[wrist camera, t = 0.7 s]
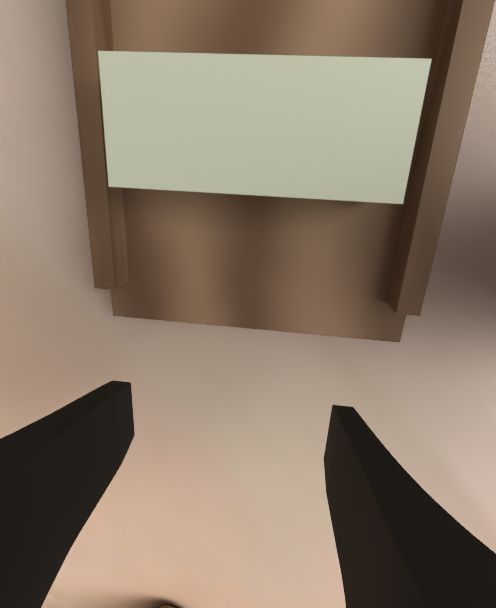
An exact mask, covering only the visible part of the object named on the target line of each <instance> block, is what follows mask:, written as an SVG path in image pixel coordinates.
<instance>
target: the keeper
mask: <svg viewBox="0 0 496 608" xmlns="http://www.w3.org/2000/svg"><path fill="white" fill-rule="evenodd" d="M98 57H99V70H100V83H101V95H102V108H103V121H104V134H105V146H106V159H107V172H108V184H109V187H122V188H139V189H156V190H173V191H190V192H207V193H224V194H240V195H257V196H274V197H291V198H308V199H325V200H342V201H359V202H375V203H392V204H403V201H404V196H405V191H406V186H407V181H408V176H409V171H410V166H411V161H412V156H413V151H414V146H415V141H416V136H417V131H418V126H419V121H420V116H421V110H422V105H423V100H424V95H425V90H426V85H427V80H428V75H429V70H430V65H431V60H432V59H422V58H380V57H338V56H296V55H254V54H212V53H170V52H128V51H98Z"/></svg>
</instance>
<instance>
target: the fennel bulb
mask: <svg viewBox="0 0 496 608" xmlns="http://www.w3.org/2000/svg"><path fill="white" fill-rule="evenodd" d="M159 608H175V607H172V606H168V605H165V606H160V607H159Z"/></svg>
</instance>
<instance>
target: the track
mask: <svg viewBox="0 0 496 608" xmlns="http://www.w3.org/2000/svg"><path fill="white" fill-rule="evenodd" d="M494 2H495V0H66V7H67V17H68V27H69V37H70V47H71V57H72V67H73V77H74V87H75V96H76V106H77V116H78V126H79V136H80V146H81V156H82V166H83V176H84V186H85V195H86V205H87V215H88V225H89V235H90V245H91V255H92V265H93V275H94V285H95V288H102V289H111V294H112V306H113V316H123V317H134V318H145V319H155V320H166V321H177V322H188V323H198V324H209V325H220V326H231V327H242V328H252V329H263V330H274V331H285V332H295V333H306V334H317V335H328V336H339V337H349V338H360V339H371V340H382V341H392V342H400V339H401V334H402V330H403V325H404V321H405V316H406V315H417V316H420V312H421V308H422V304H423V300H424V295H425V291H426V287H427V283H428V279H429V274H430V270H431V266H432V262H433V258H434V253H435V249H436V245H437V241H438V237H439V233H440V228H441V224H442V220H443V216H444V212H445V207H446V203H447V199H448V195H449V191H450V186H451V182H452V178H453V174H454V170H455V165H456V161H457V157H458V153H459V149H460V145H461V140H462V136H463V132H464V128H465V124H466V119H467V115H468V111H469V107H470V103H471V98H472V94H473V90H474V86H475V82H476V78H477V73H478V69H479V65H480V61H481V57H482V52H483V48H484V44H485V40H486V36H487V31H488V27H489V23H490V19H491V15H492V11H493V6H494ZM98 51H128V52H170V53H212V54H254V55H296V56H338V57H380V58H422V59H432V60H431V65H430V70H429V75H428V80H427V85H426V90H425V95H424V100H423V105H422V110H421V116H420V121H419V126H418V131H417V136H416V141H415V146H414V151H413V156H412V161H411V166H410V171H409V176H408V181H407V186H406V191H405V196H404V201H403V204H392V203H375V202H359V201H342V200H325V199H308V198H291V197H274V196H257V195H240V194H224V193H207V192H190V191H173V190H156V189H139V188H122V187H109V184H108V172H107V159H106V146H105V134H104V121H103V108H102V95H101V83H100V70H99V57H98Z"/></svg>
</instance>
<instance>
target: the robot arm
mask: <svg viewBox="0 0 496 608" xmlns="http://www.w3.org/2000/svg"><path fill="white" fill-rule="evenodd" d="M133 437H134V422H133V408H132V394H131V383H129V382H120V381H111V382H109V383H107V384H105V385H103V386H101V387H99V388H97V389H95V390H93V391H91V392H90V393H88V394H86V395H84V396H82V397H81V398H79V399H77V400H75V401H73V402H72V403H70V404H68V405H66V406H64V407H62V408H61V409H59V410H57V411H55V412H53V413H51V414H50V415H48V416H46V417H44V418H42V419H40V420H38V421H36V422H34V423H32V424H30V425H28V426H26V427H24V428H22V429H20V430H18V431H16V432H14V433H12V434H10V435H8V436H5V437H3V438H1V439H0V608H41V606H42V604H43V602H44V600H45V598H46V596H47V594H48V592H49V590H50V588H51V586H52V584H53V582H54V580H55V578H56V576H57V574H58V572H59V570H60V568H61V566H62V564H63V562H64V560H65V558H66V556H67V554H68V552H69V550H70V548H71V547H72V545H73V543H74V541H75V540H76V538H77V536H78V534H79V533H80V531H81V530H82V528H83V526H84V525H85V523H86V521H87V520H88V518H89V517H90V515H91V513H92V512H93V510H94V508H95V507H96V505H97V503H98V502H99V500H100V499H101V497H102V495H103V494H104V492H105V490H106V489H107V487H108V486H109V484H110V482H111V481H112V479H113V477H114V476H115V474H116V472H117V471H118V469H119V467H120V466H121V464H122V461H123V459H124V457H125V455H126V453H127V451H128V449H129V446H130V444H131V442H132V439H133ZM324 467H325V481H326V493H327V498H328V504H329V509H330V515H331V520H332V526H333V531H334V536H335V542H336V547H337V552H338V558H339V563H340V568H341V574H342V580H343V587H344V593H345V601H346V608H496V554H495V553H494V552H493V551H492V550H490V549H489V548H488V547H487V546H486V545H484V544H483V543H482V542H481V541H479V540H478V539H477V538H476V537H475V536H473V535H472V534H471V533H470V532H469V531H468V530H466V529H465V528H464V527H463V526H462V525H461V524H460V523H458V522H457V521H456V520H455V519H454V518H453V517H452V516H451V515H450V514H449V513H448V512H447V511H445V510H444V509H443V508H442V507H441V506H440V505H439V504H438V503H437V502H436V501H435V500H434V499H433V498H432V497H431V496H430V495H428V494H427V493H426V492H425V491H424V490H423V489H422V488H421V486H420V485H419V484H418V483H417V482H416V481H415V480H414V479H413V478H412V477H411V476H410V475H409V474H408V473H407V472H406V471H405V470H404V469H403V467H402V466H401V465H400V464H399V463H398V462H397V461H396V459H395V458H394V457H393V456H392V455H391V454H390V452H389V451H388V450H387V449H386V448H385V447H384V445H383V444H382V443H381V442H380V440H379V439H378V438H377V437H376V436H375V434H374V433H373V432H372V430H371V429H370V428H369V427H368V425H367V424H366V423H365V422H364V420H363V419H362V418H361V416H360V415H359V414H358V413H357V411H356V410H355V409H354V408H353V407H347V406H338V405H333V406H332V412H331V418H330V424H329V430H328V436H327V442H326V449H325V455H324Z"/></svg>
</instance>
